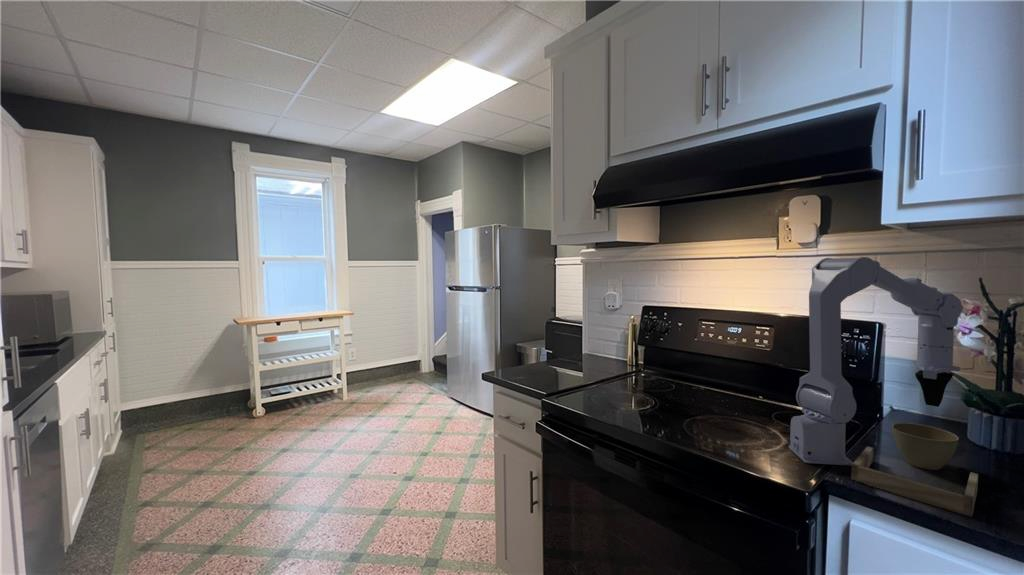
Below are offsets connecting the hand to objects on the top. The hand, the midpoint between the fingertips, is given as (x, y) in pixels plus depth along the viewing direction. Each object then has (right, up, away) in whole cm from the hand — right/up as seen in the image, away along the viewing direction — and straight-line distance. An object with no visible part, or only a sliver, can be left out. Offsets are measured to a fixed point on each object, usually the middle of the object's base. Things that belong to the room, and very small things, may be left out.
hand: (933, 404), depth 95 cm
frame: (-19, -11, -15) cm, 27 cm away
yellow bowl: (-10, -11, -8) cm, 16 cm away
